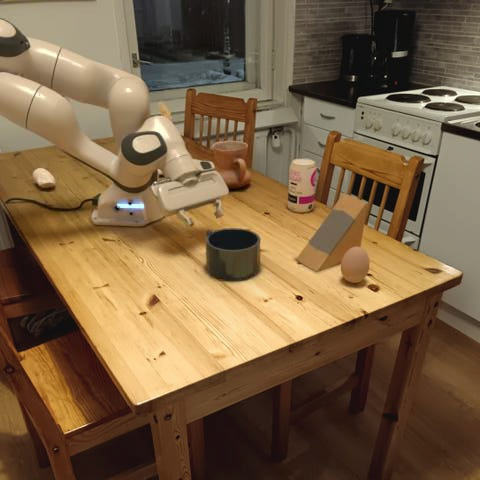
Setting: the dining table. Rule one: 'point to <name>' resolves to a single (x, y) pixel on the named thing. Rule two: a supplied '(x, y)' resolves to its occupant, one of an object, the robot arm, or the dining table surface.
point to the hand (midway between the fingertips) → (205, 221)
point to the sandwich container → (336, 234)
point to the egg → (355, 265)
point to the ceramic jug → (232, 163)
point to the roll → (43, 178)
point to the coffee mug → (232, 254)
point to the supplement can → (301, 185)
